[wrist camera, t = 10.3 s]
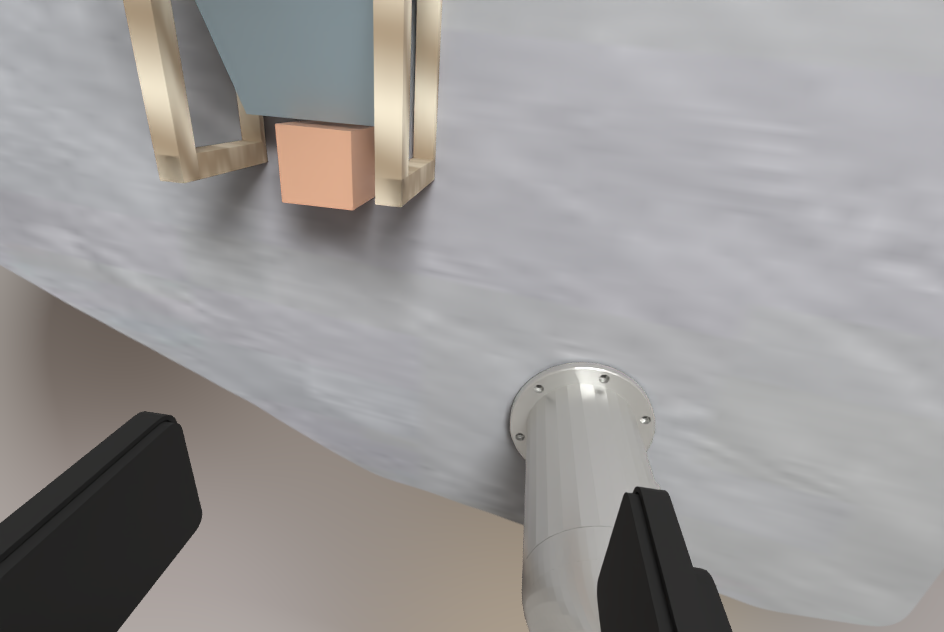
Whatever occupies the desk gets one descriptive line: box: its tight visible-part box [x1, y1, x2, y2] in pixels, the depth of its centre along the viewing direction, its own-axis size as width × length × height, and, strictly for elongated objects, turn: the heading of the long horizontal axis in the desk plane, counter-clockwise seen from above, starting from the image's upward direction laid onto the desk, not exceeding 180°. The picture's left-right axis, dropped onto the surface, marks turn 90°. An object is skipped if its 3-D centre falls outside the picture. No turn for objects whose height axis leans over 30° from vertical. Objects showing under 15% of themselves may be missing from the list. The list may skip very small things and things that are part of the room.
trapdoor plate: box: [195, 0, 374, 126], centre depth 26 cm, size 12×10×1 cm
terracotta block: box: [275, 120, 375, 210], centre depth 33 cm, size 5×5×5 cm
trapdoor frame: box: [123, 0, 442, 207], centre depth 28 cm, size 16×14×10 cm
